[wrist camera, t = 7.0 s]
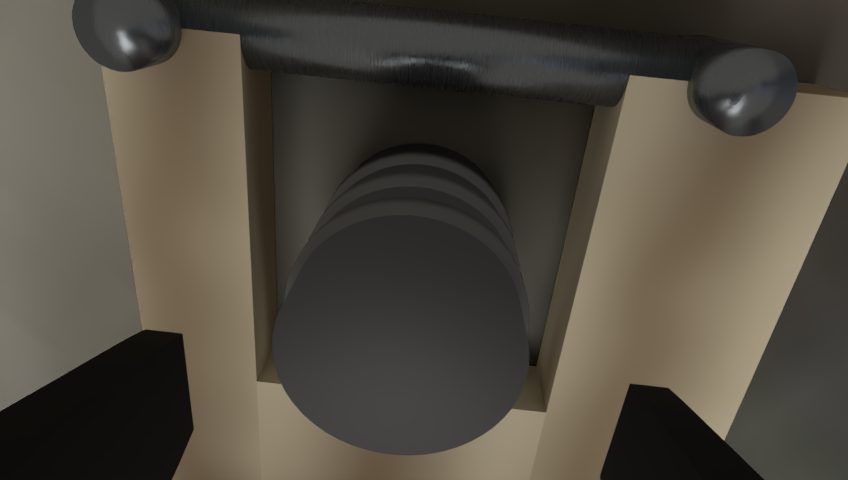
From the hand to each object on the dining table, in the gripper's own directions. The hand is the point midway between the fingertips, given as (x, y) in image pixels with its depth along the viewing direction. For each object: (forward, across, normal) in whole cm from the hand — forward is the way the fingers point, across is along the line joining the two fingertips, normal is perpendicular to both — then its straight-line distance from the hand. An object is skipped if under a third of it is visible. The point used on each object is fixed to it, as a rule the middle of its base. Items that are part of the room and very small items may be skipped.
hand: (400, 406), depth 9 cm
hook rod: (+7, 0, -5) cm, 8 cm away
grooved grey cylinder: (+7, 0, 0) cm, 7 cm away
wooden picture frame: (+7, -1, +2) cm, 7 cm away
